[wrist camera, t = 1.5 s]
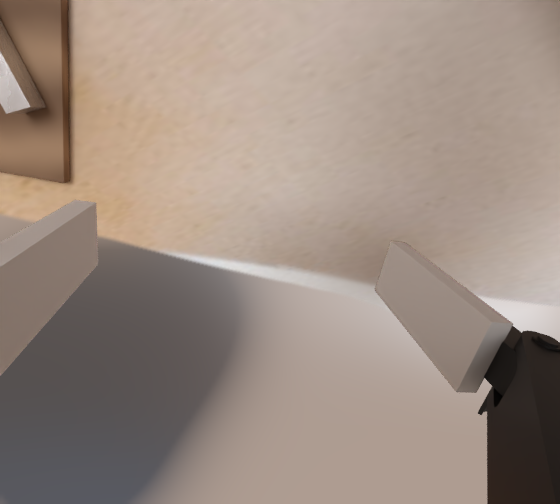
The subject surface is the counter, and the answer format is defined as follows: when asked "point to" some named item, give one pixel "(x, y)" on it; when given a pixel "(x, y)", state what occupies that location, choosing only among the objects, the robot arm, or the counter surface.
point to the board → (51, 85)
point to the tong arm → (16, 80)
